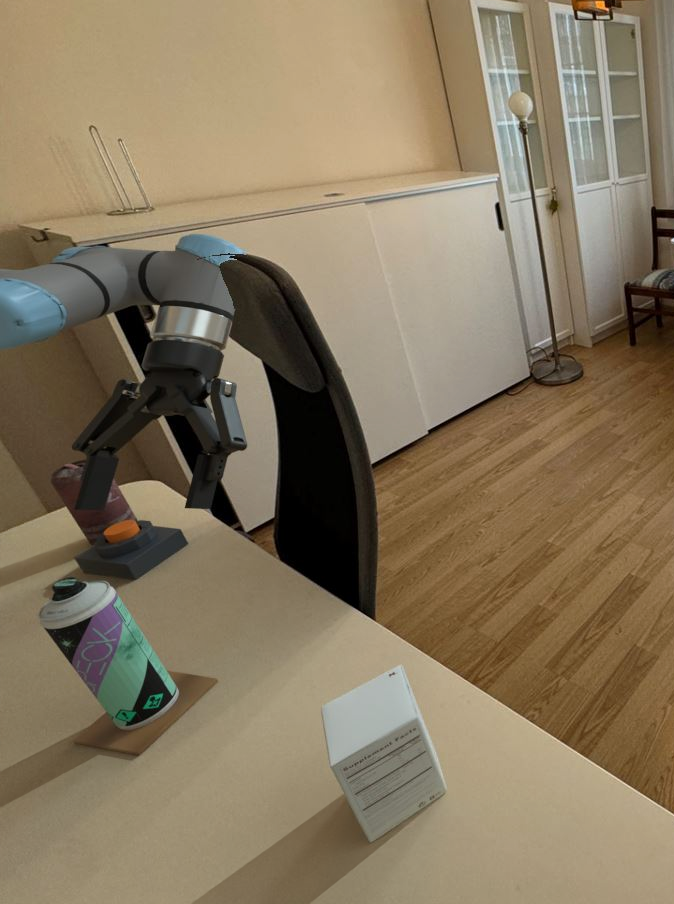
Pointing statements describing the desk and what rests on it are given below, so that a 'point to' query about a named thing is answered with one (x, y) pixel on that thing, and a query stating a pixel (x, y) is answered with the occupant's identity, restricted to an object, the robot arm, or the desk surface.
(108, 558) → the button housing
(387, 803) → the white packaging box
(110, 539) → the orange button cap
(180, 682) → the wooden board
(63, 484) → the can
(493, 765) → the desk surface
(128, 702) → the spray can
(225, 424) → the robot arm
